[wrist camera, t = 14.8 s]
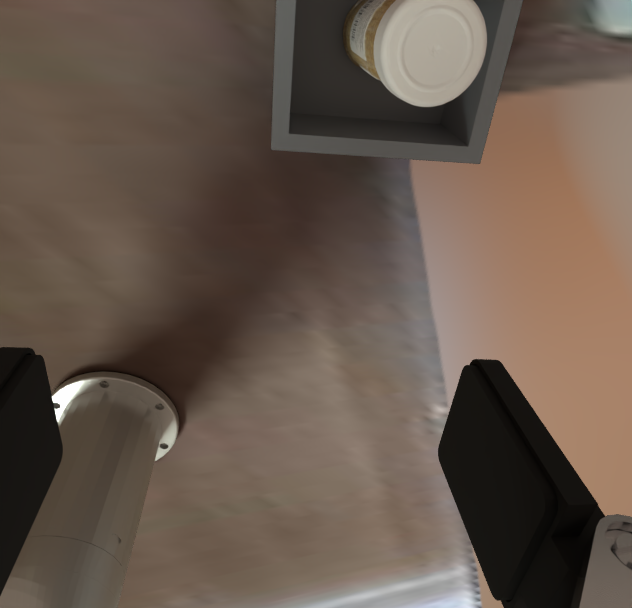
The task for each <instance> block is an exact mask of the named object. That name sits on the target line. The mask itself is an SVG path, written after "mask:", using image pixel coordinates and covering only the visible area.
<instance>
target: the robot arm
mask: <svg viewBox="0 0 632 608" xmlns="http://www.w3.org/2000/svg"><path fill="white" fill-rule="evenodd" d="M178 430H179V416H178V413H177V411H176V408H175V406H174V405H173V403H172V402H171V400H170V399H169V398H168V397H167V396H166V395H165V394H164V393H163V392H162V391H161V390H160V389H158V388H157V387H155V386H154V385H152V384H150V383H149V382H147V381H145V380H143V379H140V378H137V377H134V376H131V375H128V374H123V373H117V372H103V371H102V372H91V373H86V374H82V375H78V376H75V377H73V378H71V379H69V380H67V381H65V382H64V383H63V384H61V385H60V386H58V388H57V389H56V390H55V391H54V392H53V393H52V394H51V390H50V385H49V381H48V376H47V372H46V367H45V362H44V359H43V357H42V356H41V355H35V352H34V351H33V349H31V348H14V347H1V348H0V608H117V607H118V603H119V599H120V595H121V591H122V587H123V584H124V580H125V576H126V572H127V568H128V564H129V560H130V556H131V552H132V548H133V545H134V541H135V537H136V533H137V529H138V525H139V521H140V517H141V513H142V509H143V505H144V501H145V497H146V493H147V489H148V486H149V482H150V478H151V474H152V470H153V466H154V462H155V461H156V460H158V459H160V458H161V457H163V456H164V455H165V454H166V453H167V452H168V451H170V449H171V448H172V446H173V445H174V443H175V441H176V438H177V435H178ZM438 457H439V461H440V464H441V467H442V469H443V472H444V474H445V477H446V479H447V482H448V485H449V487H450V490H451V492H452V495H453V497H454V500H455V502H456V505H457V507H458V510H459V512H460V515H461V518H462V520H463V523H464V525H465V528H466V530H467V533H468V535H469V538H470V540H471V543H472V545H473V548H474V551H475V553H476V556H477V558H478V561H479V563H480V566H481V568H482V571H483V573H484V576H485V578H486V581H487V584H488V586H489V588H490V591H491V593H492V595H493V597H494V598H495V599H496V600H501V602H502V604H503V607H504V608H632V517H630V516H624V515H619V514H616V515H607V516H605V515H604V514H603V512H602V511H601V509H600V508H599V507H598V504H597V502H596V501H595V499H594V498H593V497H592V495H591V493H590V492H589V491H588V489H587V487H586V486H585V485H584V483H583V482H582V480H581V479H580V477H579V476H578V474H577V473H576V471H575V470H574V468H573V467H572V465H571V464H570V463H569V461H568V460H567V458H566V457H565V455H564V454H563V452H562V451H561V449H560V448H559V446H558V445H557V444H556V442H555V441H554V439H553V438H552V436H551V435H550V433H549V432H548V430H547V429H546V427H545V426H544V424H543V423H542V422H541V420H540V419H539V417H538V416H537V414H536V413H535V411H534V410H533V408H532V407H531V405H530V404H529V403H528V401H527V400H526V398H525V397H524V395H523V394H522V392H521V391H520V389H519V388H518V386H517V385H516V384H515V382H514V381H513V379H512V378H511V376H510V375H509V373H508V372H507V370H506V369H505V368H504V366H503V364H502V363H501V362H500V361H498V360H483V359H475V360H472V362H471V363H470V365H466V366H464V368H463V370H462V373H461V376H460V379H459V383H458V386H457V389H456V392H455V396H454V399H453V402H452V405H451V408H450V412H449V415H448V418H447V421H446V424H445V428H444V431H443V434H442V437H441V441H440V444H439V448H438Z"/></svg>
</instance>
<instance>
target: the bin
mask: <svg viewBox="0 0 632 608" xmlns="http://www.w3.org/2000/svg"><path fill="white" fill-rule="evenodd" d="M357 1H358V0H276V16H275V44H274V71H273V99H272V128H271V150H280V151H294V152H309V153H324V154H339V155H354V156H369V157H384V158H398V159H413V160H428V161H443V162H458V163H473V164H480V162H481V158H482V154H483V150H484V146H485V143H486V138H487V135H488V131H489V128H490V124H491V120H492V116H493V113H494V108H495V105H496V101H497V97H498V94H499V90H500V86H501V82H502V78H503V75H504V71H505V67H506V63H507V60H508V56H509V52H510V48H511V44H512V41H513V37H514V33H515V29H516V25H517V22H518V18H519V14H520V10H521V7H522V3H523V0H473V1H474V2H475V3H476V4H477V6H478V7H479V9H480V11H481V13H482V15H483V17H484V21H485V25H486V31H487V47H486V53H485V57H484V60H483V63H482V66H481V68H480V70H479V72H478V74H477V76H476V78H475V79H474V80H473V82H472V83H471V84H470V86H469V87H468V88H467V89H466V90H465V91H464V92H463V93H461V94H460V95H459V96H458V97H456V98H455V99H453V100H451V101H449V102H447V103H445V104H442V105H438V106H434V107H420V106H415V105H412V104H409V103H407V102H405V101H403V100H401V99H400V98H398V97H396V96H395V95H394V94H392V93H391V92H390V91H389V90H388V89H387V88H386V87H385V86H384V84H383V83H382V81H380V80H378V79H376V78H374V77H373V76H371V75H370V74H368V73H367V72H366V71H364V70H363V69H361V68H360V67H358V66H356V65H355V64H354V63H353V62H352V61H351V59H350V58H349V57H348V55H347V53H346V50H345V47H344V43H343V27H344V23H345V20H346V17H347V14H348V13H349V11H350V10H351V8H352V7H353V5H355V4H356V2H357Z"/></svg>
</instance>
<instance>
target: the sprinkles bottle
mask: <svg viewBox="0 0 632 608" xmlns="http://www.w3.org/2000/svg"><path fill="white" fill-rule="evenodd" d="M343 43H344V47H345V50H346V53H347V55H348V57H349V58H350V59H351V61H352V62H353V63H354V64H355V65H356V66H358V67H360V68H361V69H363V70H364V71H366V72H367V73H368V74H370V75H371V76H373V77H374V78H376V79H378V80H380V81H382V83H383V84H384V86H385V87H386V88H387V89H388V90H389V91H390V92H391V93H392V94H394V95H395V96H396V97H398V98H400V99H401V100H403V101H405V102H407V103H409V104H412V105H415V106H420V107H434V106H438V105H442V104H445V103H447V102H449V101H451V100H453V99H455V98H456V97H458V96H459V95H460V94H461V93H463V92H464V91H465V90H466V89H467V88H468V87H469V86H470V84H471V83H472V82H473V80H474V79H475V78H476V76H477V74H478V72H479V70H480V68H481V66H482V63H483V60H484V57H485V53H486V47H487V31H486V25H485V21H484V17H483V15H482V13H481V11H480V9H479V7H478V6H477V4H476V3H475V2H474V1H473V0H358V1H357V2H356V4H355V5H353V7H352V8H351V10H350V11H349V13H348V14H347V17H346V20H345V23H344V27H343Z"/></svg>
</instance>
